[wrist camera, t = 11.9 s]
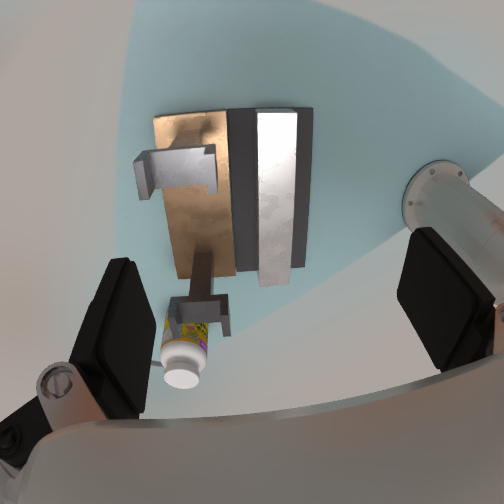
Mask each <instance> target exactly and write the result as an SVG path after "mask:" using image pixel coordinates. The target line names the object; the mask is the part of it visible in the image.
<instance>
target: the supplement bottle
mask: <svg viewBox="0 0 504 504" xmlns="http://www.w3.org/2000/svg"><path fill="white" fill-rule="evenodd" d="M168 311H169V308H168V310H167V314H166V320H165V325H164V331H163V337H162V344H161V350H160V361H161V363H162V365H163V366H164V367H165V370H164V379H165V381H166V382H167V383H168V384H169V385H171V386H173V387H176V388H181V389H187V388H192V387H194V386H196V385H197V384H198V383H199V372H200V371H201V370H202V369H203V368H204V367H205V365H206V363H207V343H208V323H191V324H182V330H181V338H180V339H173V336H172V332H171V329H170V326H169V322H168V319H167V317H168Z"/></svg>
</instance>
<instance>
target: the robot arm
mask: <svg viewBox="0 0 504 504" xmlns="http://www.w3.org/2000/svg"><path fill="white" fill-rule="evenodd" d="M402 212H403V218H404V221H405V224H406V225H407V227H408V228H409V229H410V231H411V232H412V234H411V236H410V240H409V245H408V249H407V253H406V258H405V262H404V266H403V270H402V274H401V278H400V282H399V286H398V289H397V299H398V301H399V303H400V305H401V306H402V308H403V309H404V311H405V313H406V315H407V316H408V318H409V320H410V321H411V323H412V325H413V327H414V329H415V330H416V332H417V334H418V336H419V338H420V339H421V341H422V343H423V345H424V347H425V349H426V350H427V352H428V354H429V356H430V358H431V360H432V362H433V364H434V366H435V367H436V368H437V369H440V371H441V374H438V375H434V376H431V377H428V378H425V379H421V380H418V381H415V382H411V383H408V384H404V385H401V386H397V387H393V388H390V389H386V390H382V391H378V392H374V393H370V394H365V395H361V396H357V397H352V398H347V399H343V400H338V401H333V402H328V403H322V404H316V405H311V406H305V407H298V408H292V409H285V410H278V411H270V412H262V413H253V414H243V415H232V416H218V417H201V418H179V419H139V414H140V413H143V412H144V410H145V403H146V394H147V387H148V380H149V373H150V366H151V359H152V352H153V346H154V340H155V334H156V321H155V318H154V315H153V313H152V310H151V307H150V304H149V302H148V299H147V296H146V293H145V290H144V287H143V284H142V281H141V278H140V275H139V272H138V269H137V266H136V264H135V262H134V261H130V260H129V258H127V257H125V258H116V259H111V260H110V262H109V264H108V266H107V268H106V271H105V273H104V275H103V278H102V280H101V282H100V284H99V287H98V289H97V292H96V294H95V296H94V299H93V301H91V303H90V305H89V307H88V310H87V313H86V315H85V318H84V320H83V323H82V325H81V328H80V331H79V333H78V336H77V339H76V341H75V344H74V347H73V350H72V353H71V356H70V359H69V362H57V363H54V364H52V365H49V366H48V367H47V368H46V369H44V371H43V372H42V373H41V374H40V376H39V378H38V380H37V385H36V390H37V396H36V397H35V398H33V399H32V400H31V401H29V402H27V403H26V404H25V405H23V406H22V407H21V408H19V409H18V410H16V411H15V412H14V413H12V414H11V415H10V416H8V417H7V418H5V419H4V420H3V421H1V422H0V504H504V212H503V211H502V210H501V209H499V208H498V207H497V206H496V205H494V204H493V203H492V202H491V201H489V200H488V199H487V198H486V197H484V196H483V195H481V194H480V193H479V192H477V191H476V190H474V189H473V188H472V187H470V184H469V180H468V177H467V175H466V173H465V172H464V170H462V169H461V168H460V167H459V166H458V165H456V164H454V163H452V162H449V161H443V160H442V161H435V162H433V163H430V164H428V165H426V166H425V167H423V168H422V169H421V170H420V171H419V172H418V173H417V174H416V175H415V176H414V177H413V179H412V180H411V182H410V183H409V185H408V187H407V189H406V192H405V194H404V199H403V206H402ZM493 304H496V305H498V306H497V308H496V309H495V307H494V306H493Z"/></svg>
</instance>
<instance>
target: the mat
mask: <svg viewBox="0 0 504 504" xmlns="http://www.w3.org/2000/svg"><path fill="white" fill-rule="evenodd" d="M255 109H270V108H244V109H228V127H229V147H230V166H231V184H232V202H233V219H234V235H235V251H236V266H237V272H242V271H257V230H256V157H255ZM287 109H292V110H293V111H295V112H296V113H297V137H296V169H295V195H294V216H293V235H292V253H291V268H300V267H305V256H306V244H307V230H308V216H309V200H310V182H311V161H312V135H313V108H287Z"/></svg>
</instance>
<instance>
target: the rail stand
mask: <svg viewBox="0 0 504 504" xmlns="http://www.w3.org/2000/svg"><path fill="white" fill-rule="evenodd" d="M153 123H154V132H155V140H156V148H157V149H154V150H146V151H142V152H141V153H140V155H139V156H138V157H137V158H136V159H135V160H134V162H133V166H134V172H135V178H136V184H137V189H138V195H139V200H149V199H150V197H151V195H152V193H153V191H154V189H159V188H162V191H163V198H164V204H165V210H166V216H167V222H168V228H169V234H170V239H171V245H172V250H173V255H174V260H175V266H176V271H177V276H178V279H191V282H190V291H189V296H182V297H171V299H170V305H169V311H168V317H167V319H168V322H169V326H170V329H171V332H172V336H173V339H180V338H181V330H182V324H191V323H212V322H221V324H222V331H223V337H226V336H231V329H230V310H229V300H228V294H219V295H213V286H214V277H226V276H236V273H235V258H234V243H233V228H232V212H231V195H230V178H229V161H228V142H227V123H226V109H225V110H210V111H198V112H187V113H178V114H169V115H161V116H155V117H154V118H153Z"/></svg>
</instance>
